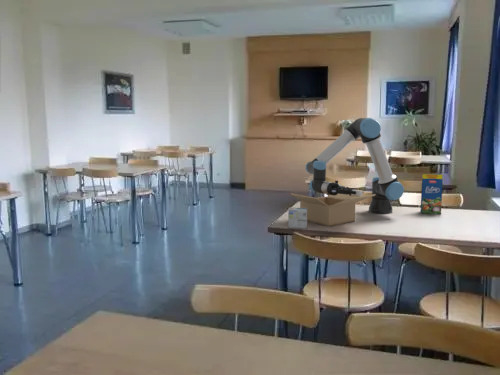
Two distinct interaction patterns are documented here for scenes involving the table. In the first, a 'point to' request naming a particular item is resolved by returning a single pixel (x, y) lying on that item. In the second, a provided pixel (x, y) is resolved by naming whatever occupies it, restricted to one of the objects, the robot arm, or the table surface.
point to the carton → (328, 209)
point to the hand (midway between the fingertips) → (361, 193)
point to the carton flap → (352, 200)
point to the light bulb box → (297, 218)
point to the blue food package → (431, 194)
